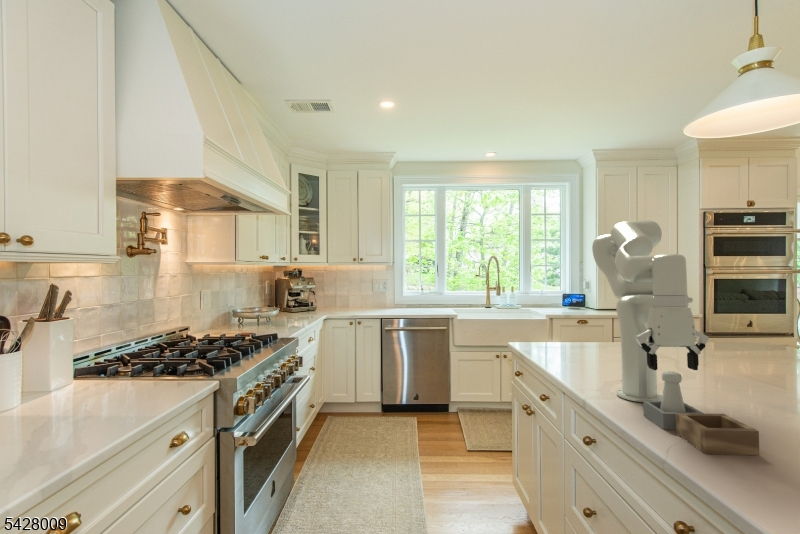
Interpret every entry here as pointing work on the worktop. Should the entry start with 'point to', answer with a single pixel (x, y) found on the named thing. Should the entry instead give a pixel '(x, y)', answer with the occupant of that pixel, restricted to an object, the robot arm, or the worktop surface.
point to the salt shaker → (672, 393)
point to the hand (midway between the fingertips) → (672, 369)
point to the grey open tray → (663, 414)
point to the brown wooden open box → (717, 434)
